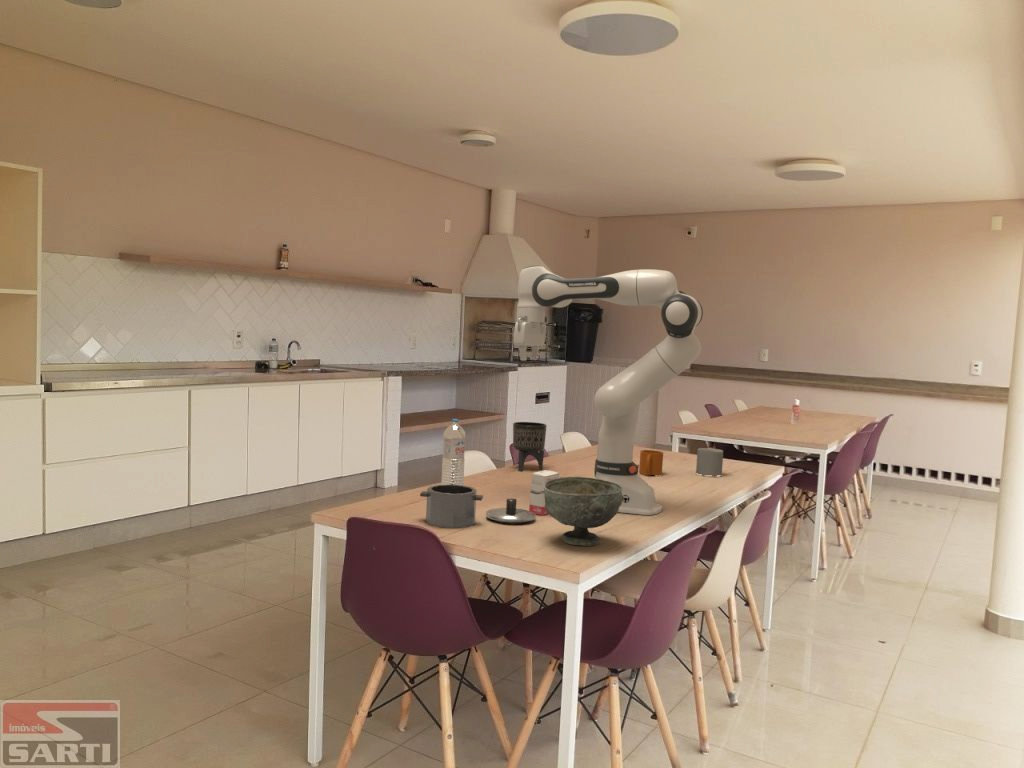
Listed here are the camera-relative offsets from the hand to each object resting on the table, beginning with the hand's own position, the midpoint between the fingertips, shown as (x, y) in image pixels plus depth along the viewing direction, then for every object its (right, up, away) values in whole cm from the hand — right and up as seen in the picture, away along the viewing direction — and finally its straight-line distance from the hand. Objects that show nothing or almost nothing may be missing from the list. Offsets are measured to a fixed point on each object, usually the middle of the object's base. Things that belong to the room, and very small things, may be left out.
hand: (528, 360), depth 253 cm
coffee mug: (+74, -44, +62) cm, 106 cm away
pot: (-22, -45, -37) cm, 63 cm away
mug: (+48, -43, +55) cm, 84 cm away
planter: (+1, -41, +53) cm, 67 cm away
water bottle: (-24, -44, -9) cm, 50 cm away
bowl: (+12, -48, -51) cm, 71 cm away
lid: (-6, -46, -31) cm, 55 cm away
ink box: (+4, -46, -20) cm, 50 cm away
